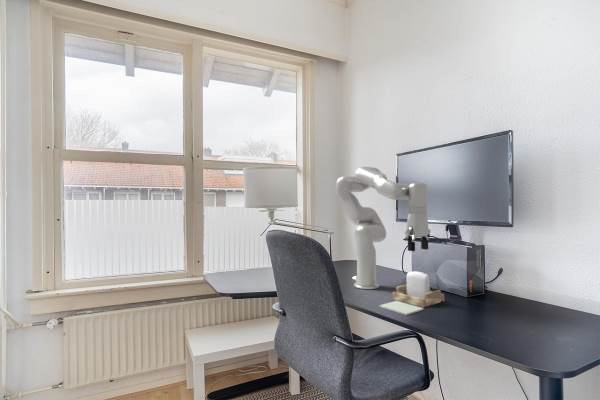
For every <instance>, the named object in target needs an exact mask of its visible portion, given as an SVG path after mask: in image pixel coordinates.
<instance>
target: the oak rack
mask: <svg viewBox="0 0 600 400" xmlns="http://www.w3.org/2000/svg"><path fill="white" fill-rule="evenodd" d="M395 289H396V290H395V291H392V300H395V301H399V302H402V303H406V304H409V305H413V306H417V307H420V308H423V309H424V308H425V307H430V306H432V305H436V304H439V303H441V302H442V301H443V302H445V294H444V293H442V292H441V291H442V290H440V289H437V290H436V289H435V290H434V291H433V290H430V292H428V293H425V299H421V298H417V297H413V296H409V295H407V283H406V284H403V285H398V286H396V288H395Z"/></svg>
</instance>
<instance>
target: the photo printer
mask: <svg viewBox="0 0 600 400" xmlns="http://www.w3.org/2000/svg"><path fill="white" fill-rule="evenodd" d="M405 278H406V284H407V295H409V296H413V297H417V298H421V299H425V293H428V292H430V291H431V283H430V281H431V280H430V276H429V275H428V274H427V273H424V272H421V271H415V270H414V271H409V272H407V274H406V277H405Z"/></svg>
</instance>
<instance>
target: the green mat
mask: <svg viewBox="0 0 600 400" xmlns="http://www.w3.org/2000/svg"><path fill="white" fill-rule="evenodd" d="M378 307H379V308H381V309H385V310H389V311H392V312H395V313H398V314H400V315H403V316H410V315H411V314H416V313H419V312H421V311H424V308H423V307H420V306H416V305H413V304H409V303H405V302H402V301H398V300H395V301H391V302H387V303H382V304H380V305H379V306H378Z"/></svg>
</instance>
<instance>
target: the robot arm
mask: <svg viewBox="0 0 600 400" xmlns="http://www.w3.org/2000/svg"><path fill="white" fill-rule="evenodd" d="M370 188H371V189H375V191H376V192H377V193H378V194H380V195H381V196H384V197H385V198H388V199H390V200H397V201H399V200H400V201H408V214H407V220H406V230H405V231H404V235H405V239H406V241H407V251H409V252H415V251H416V242H415V240H416V238H421V239H420V249H421V250H426V251H427V250H429V240H430V236H431V229H429V220H428V186H427V184H426V183H424V182H413V183H403V182H402V183H401V182H393V181H391V180H388V176H387V175H386V174H385V173H383V172H381V170H380V169H378V168H377V167H371V166H360V167H358V168H357V169H356V171H355V174H354V176H352V175H344V176H339V178H338V179H337V180H336V182H335V193H336V196H337V198H338V200H339V201H340V203H341V205H342V206H343V209H344V210H345V212H346V214H347V216H348V218H349V221H350V223H352V224H353V225H354V226H357V228H355V232H354V238H355V243H356V275H354V276H353V277H352V280H353V281H355V282H354V283H353V286H354V288H357V289H361V290H376V289H377V290H378V289H379V288H380V284H379V283H378V282H377V251H376V248H375V245H374V243H380V242H383V241H384V240H385V239H386V238H387V230H386V228H385V225H384V223H383V221H382V220H381V218H380V216H379V214H378V213H377V211H376V210H375V209H374V208H372V207H368V206H365V207H364V206H362V204H361V203H360V201H359V199H358V198H357V197H356V196H355V194H353V193H361V192H364V191H367V190H368V189H370Z"/></svg>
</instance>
